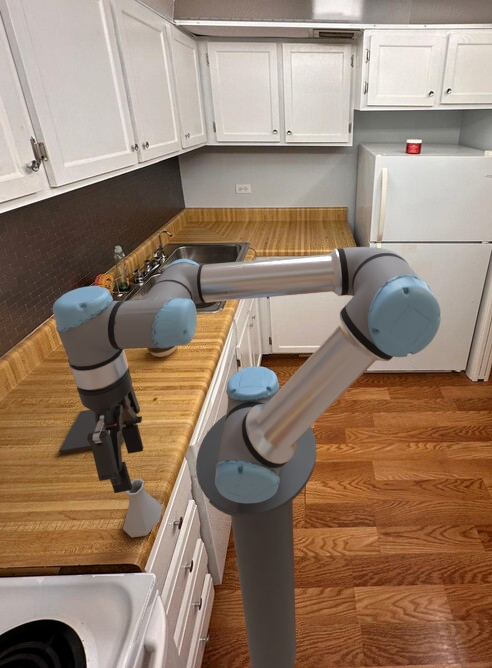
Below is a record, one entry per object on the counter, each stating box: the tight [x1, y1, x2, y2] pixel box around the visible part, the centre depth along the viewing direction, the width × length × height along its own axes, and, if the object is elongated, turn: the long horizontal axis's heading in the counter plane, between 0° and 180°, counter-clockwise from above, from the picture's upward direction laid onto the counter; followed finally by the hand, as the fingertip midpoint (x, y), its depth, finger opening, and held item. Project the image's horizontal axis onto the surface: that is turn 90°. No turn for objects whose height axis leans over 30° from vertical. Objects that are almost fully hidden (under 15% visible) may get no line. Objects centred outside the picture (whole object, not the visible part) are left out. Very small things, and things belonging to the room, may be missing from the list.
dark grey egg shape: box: [146, 346, 178, 358], centre depth 115 cm, size 10×10×15 cm
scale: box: [58, 407, 133, 455], centre depth 88 cm, size 14×12×3 cm
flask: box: [122, 478, 164, 538], centre depth 67 cm, size 7×7×10 cm
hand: (129, 469), depth 64 cm, fingers open, 7 cm apart
